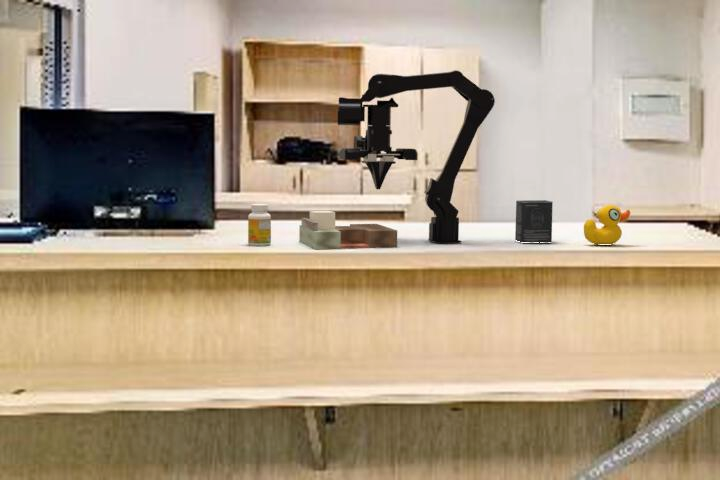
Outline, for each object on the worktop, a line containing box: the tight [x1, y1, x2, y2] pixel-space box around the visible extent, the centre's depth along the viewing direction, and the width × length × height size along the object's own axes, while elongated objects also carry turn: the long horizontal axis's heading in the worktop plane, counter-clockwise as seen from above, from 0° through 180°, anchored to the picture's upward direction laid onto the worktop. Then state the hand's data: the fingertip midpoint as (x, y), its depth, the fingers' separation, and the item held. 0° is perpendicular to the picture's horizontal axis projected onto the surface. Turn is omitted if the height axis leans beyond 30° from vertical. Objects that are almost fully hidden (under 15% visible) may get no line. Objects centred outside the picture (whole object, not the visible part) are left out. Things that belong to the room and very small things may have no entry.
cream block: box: [309, 210, 336, 230], centre depth 224 cm, size 5×5×4 cm
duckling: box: [583, 204, 631, 245], centre depth 231 cm, size 11×5×10 cm, turn 95°
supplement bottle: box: [247, 203, 272, 247], centre depth 223 cm, size 5×5×10 cm
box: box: [514, 199, 553, 244], centre depth 235 cm, size 8×6×11 cm
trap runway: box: [298, 217, 398, 250], centre depth 227 cm, size 20×16×6 cm
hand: (378, 189), depth 232 cm, fingers closed
